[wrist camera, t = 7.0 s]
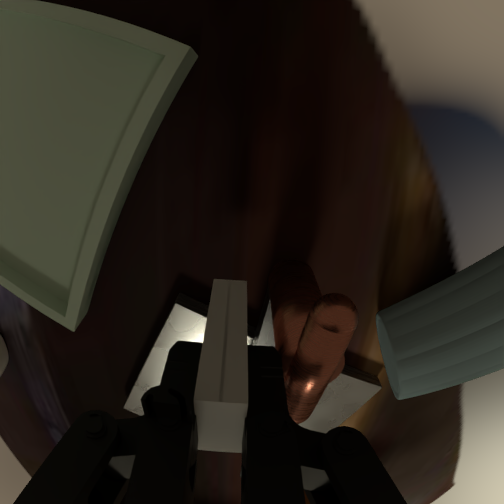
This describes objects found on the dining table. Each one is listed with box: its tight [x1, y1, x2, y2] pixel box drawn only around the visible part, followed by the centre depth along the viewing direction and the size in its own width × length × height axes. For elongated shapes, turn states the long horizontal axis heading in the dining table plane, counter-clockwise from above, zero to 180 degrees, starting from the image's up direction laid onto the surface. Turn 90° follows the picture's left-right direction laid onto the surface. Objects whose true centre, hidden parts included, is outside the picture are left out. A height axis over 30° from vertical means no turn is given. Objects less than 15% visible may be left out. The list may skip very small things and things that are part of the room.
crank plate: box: [124, 293, 382, 433], centre depth 21 cm, size 12×16×1 cm
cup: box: [376, 246, 504, 400], centre depth 15 cm, size 8×8×10 cm
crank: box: [252, 259, 359, 424], centre depth 15 cm, size 16×5×7 cm, turn 168°
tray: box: [0, 0, 198, 332], centre depth 13 cm, size 17×17×2 cm
